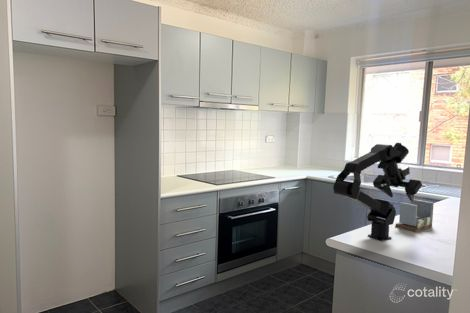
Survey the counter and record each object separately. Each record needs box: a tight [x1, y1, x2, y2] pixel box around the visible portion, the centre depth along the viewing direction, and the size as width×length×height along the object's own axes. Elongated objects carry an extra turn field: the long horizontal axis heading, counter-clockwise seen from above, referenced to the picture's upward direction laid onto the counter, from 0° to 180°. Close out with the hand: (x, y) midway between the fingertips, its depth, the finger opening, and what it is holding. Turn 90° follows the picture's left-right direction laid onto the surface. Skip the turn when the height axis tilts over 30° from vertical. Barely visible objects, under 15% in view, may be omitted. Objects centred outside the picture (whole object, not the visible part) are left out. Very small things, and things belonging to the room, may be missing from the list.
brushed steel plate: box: [410, 198, 434, 225], centre depth 162 cm, size 2×9×10 cm, turn 36°
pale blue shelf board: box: [398, 202, 424, 226], centre depth 155 cm, size 4×9×9 cm, turn 36°
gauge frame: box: [395, 217, 433, 233], centre depth 159 cm, size 14×9×5 cm, turn 126°
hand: (402, 198), depth 150 cm, fingers open, 9 cm apart
